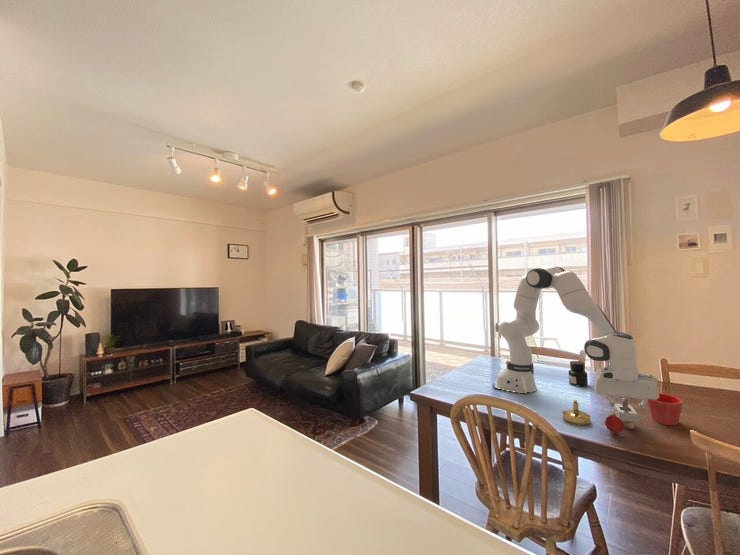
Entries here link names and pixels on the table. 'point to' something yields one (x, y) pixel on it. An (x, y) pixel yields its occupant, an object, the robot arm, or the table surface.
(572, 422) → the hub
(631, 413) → the white flat block
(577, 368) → the ink bottle
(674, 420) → the flower pot
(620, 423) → the red rounded piece
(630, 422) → the stand
